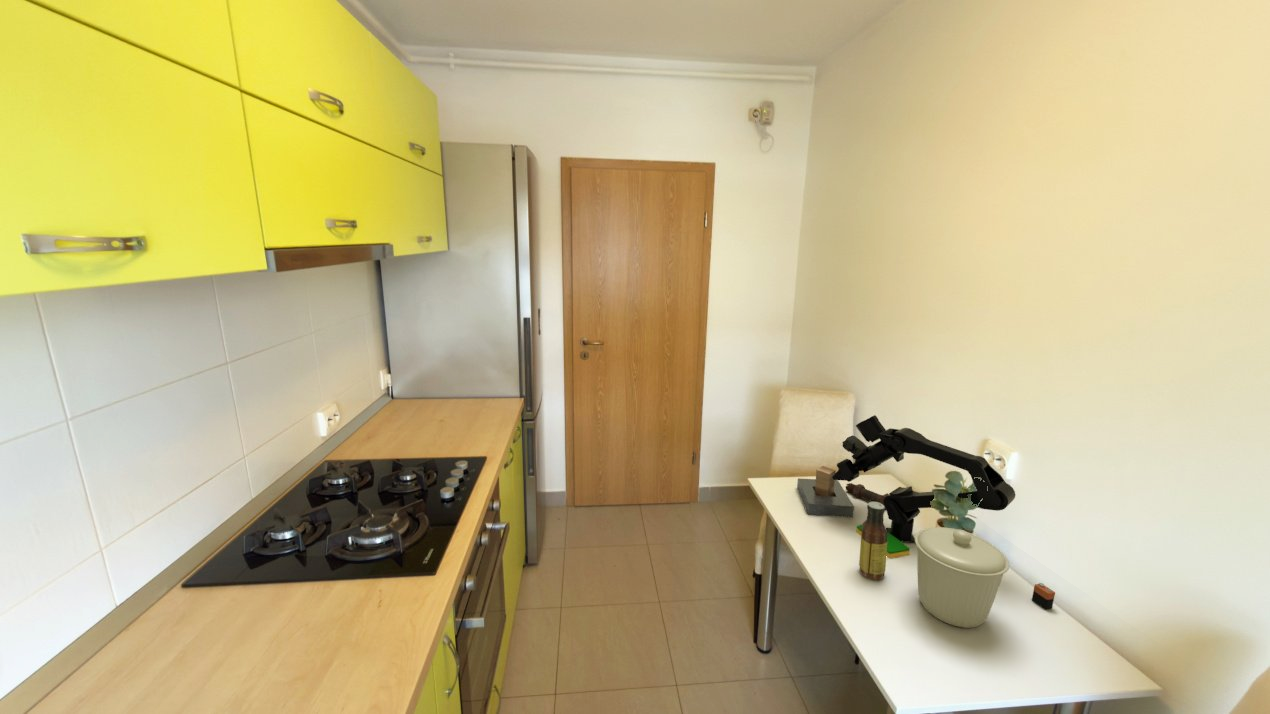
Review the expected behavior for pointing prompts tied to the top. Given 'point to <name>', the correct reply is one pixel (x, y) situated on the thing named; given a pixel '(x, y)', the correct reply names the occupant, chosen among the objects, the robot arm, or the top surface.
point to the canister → (958, 575)
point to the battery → (1043, 596)
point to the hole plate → (825, 500)
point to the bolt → (865, 493)
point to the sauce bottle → (873, 543)
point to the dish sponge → (891, 545)
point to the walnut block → (824, 481)
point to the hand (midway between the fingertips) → (840, 474)
